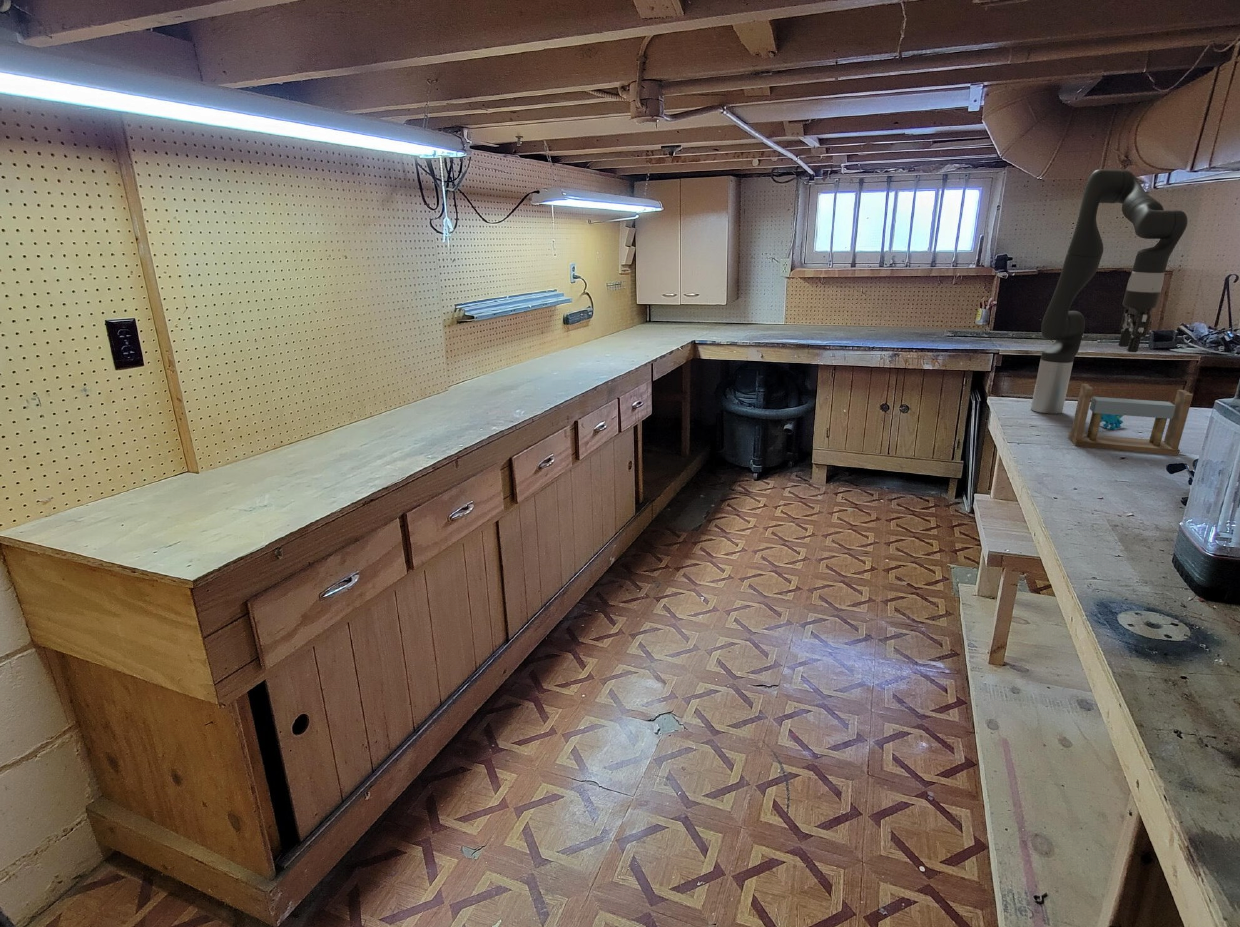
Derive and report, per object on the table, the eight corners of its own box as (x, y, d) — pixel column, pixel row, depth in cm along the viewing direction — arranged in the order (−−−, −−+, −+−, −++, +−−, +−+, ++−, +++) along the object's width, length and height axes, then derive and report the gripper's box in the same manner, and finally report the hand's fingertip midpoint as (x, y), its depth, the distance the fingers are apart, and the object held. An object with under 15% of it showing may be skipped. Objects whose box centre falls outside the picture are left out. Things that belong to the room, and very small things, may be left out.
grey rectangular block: (1165, 414, 185) (1169, 401, 184) (1172, 418, 181) (1175, 406, 179) (1089, 408, 191) (1092, 396, 190) (1094, 413, 187) (1096, 400, 186)
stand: (1068, 437, 197) (1080, 382, 192) (1166, 446, 189) (1182, 389, 183) (1075, 446, 189) (1088, 389, 184) (1178, 455, 181) (1195, 396, 175)
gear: (1102, 426, 202) (1091, 398, 207) (1086, 435, 207) (1075, 408, 212) (1132, 429, 205) (1120, 401, 209) (1115, 438, 210) (1104, 411, 214)
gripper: (1169, 292, 172) (1151, 355, 178) (1151, 287, 184) (1135, 345, 190) (1134, 291, 175) (1118, 353, 180) (1119, 286, 187) (1104, 343, 193)
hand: (1127, 349), depth 185 cm, fingers open, 8 cm apart
